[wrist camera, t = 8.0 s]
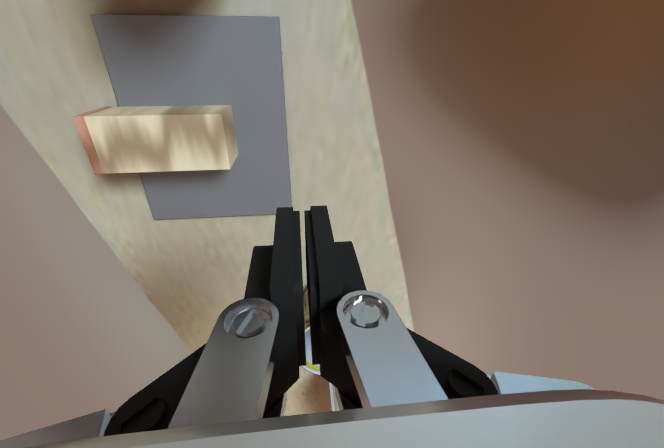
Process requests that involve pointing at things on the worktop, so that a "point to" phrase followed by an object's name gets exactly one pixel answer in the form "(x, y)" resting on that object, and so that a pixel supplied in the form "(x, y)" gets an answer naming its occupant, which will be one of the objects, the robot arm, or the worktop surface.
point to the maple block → (159, 138)
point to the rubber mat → (207, 103)
